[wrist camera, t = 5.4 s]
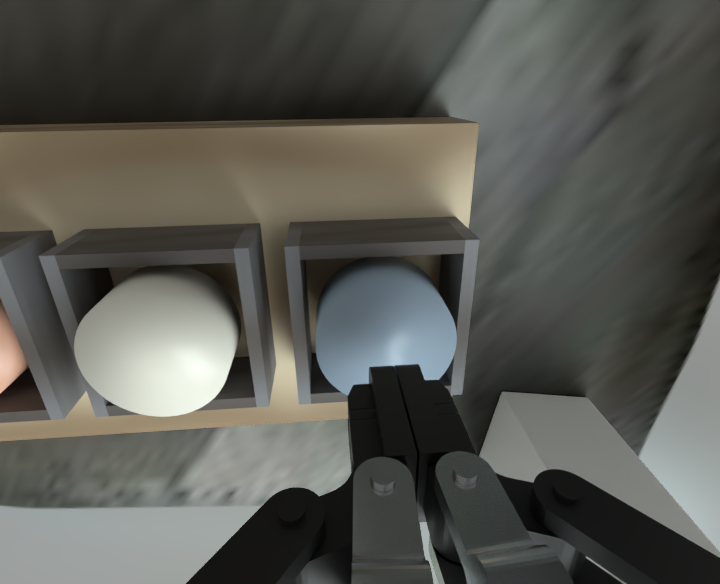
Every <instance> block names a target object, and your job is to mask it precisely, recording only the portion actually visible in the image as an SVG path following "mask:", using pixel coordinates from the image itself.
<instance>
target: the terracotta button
mask: <svg viewBox="0 0 720 584" xmlns="http://www.w3.org/2000/svg"><path fill="white" fill-rule="evenodd" d="M28 367H29V366H28V363H27V361H26V358H25V356H24V354H23V351H22V349H21V346H20V344H19V342H18V339H17V337H16V334H15V332H14V330H13V327H12V325H11V322H10V320H9V318H8V315H7V313H6V310H5V308H4V306H3V303H2V301H1V298H0V394H1V393H2V392H3V391H4V390H5V389H6V388H7V387H8V386H9V385H10V384H11V383H12V382H13V381H14V380H15V379H16V378H17V377H18V376H20V375H21V374H22V373H23V372H24V371H25V370H26V369H27V368H28Z"/></svg>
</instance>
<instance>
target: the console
mask: <svg viewBox="0 0 720 584" xmlns="http://www.w3.org/2000/svg"><path fill="white" fill-rule="evenodd" d="M478 129H479V123H477V122H472V121H468V120H463V119H458V118H454V117H413V118H358V119H303V120H249V121H194V122H140V123H85V124H30V125H0V298H1V301H2V303H3V306H4V308H5V310H6V313H7V315H8V318H9V320H10V322H11V325H12V327H13V330H14V332H15V334H16V337H17V339H18V342H19V344H20V346H21V349H22V351H23V354H24V356H25V358H26V361H27V363H28V366H29V367H28V368H27V369H26V370H25V371H24V372H23V373H22V374H21V375H20V376H18V377H17V378H16V379H15V380H14V381H13V382H12V383H11V384H10V385H9V386H8V387H7V388H6V389H5V390H4V391H3V392H2V393H1V394H0V441H10V440H26V439H41V438H57V437H73V436H88V435H104V434H119V433H135V432H150V431H166V430H181V429H197V428H212V427H228V426H243V425H259V424H274V423H290V422H305V421H321V420H336V419H348V398H347V395H345V394H344V393H342V392H341V391H339V390H338V389H336V388H335V387H334V386H333V385H332V384H331V383H330V382H329V381H328V380H327V379H326V377H325V376H324V374H323V373H322V371H321V369H320V366H319V364H318V360H317V355H316V320H317V305H318V300H319V297H320V294H321V292H322V290H323V288H324V286H325V285H326V283H327V282H328V281H329V279H330V278H331V277H332V276H333V275H334V274H335V273H336V272H337V271H338V270H340V269H341V268H343V267H344V266H346V265H347V264H349V263H351V262H353V261H356V260H358V259H361V258H365V257H387V256H394V257H398V258H402V259H405V260H407V261H409V262H412V263H413V264H415V265H417V266H418V267H419V268H421V269H422V270H423V271H424V272H425V273H426V274H427V275H428V276H429V277H430V279H431V280H432V282H433V283H434V285H435V287H436V289H437V290H438V292H439V294H440V296H441V297H442V299H443V301H444V303H445V305H446V306H447V308H448V310H449V312H450V313H451V316H452V318H453V320H454V323H455V326H456V333H457V344H456V350H455V353H454V356H453V359H452V361H451V363H450V365H449V367H448V368H447V370H446V372H445V373H444V374H443V375H442V376H441V378H440V379H439V380H438V381H439V382H440V383H441V384H442V385H444V386H445V387H446V388H447V389H448V390H449V392H450V395H451V397H452V395H462V391H463V382H464V373H465V365H466V356H467V347H468V338H469V329H470V320H471V311H472V302H473V293H474V285H475V276H476V267H477V258H478V249H479V240H480V239H479V238H478V237H476V236H475V235H474V234H473V233H472V232H471V231H470V230H469V220H470V210H471V200H472V190H473V179H474V169H475V159H476V149H477V139H478ZM161 265H182V266H186V267H190V268H193V269H195V270H198V271H200V272H202V273H204V274H206V275H208V276H209V277H211V278H213V279H214V280H215V281H217V282H218V283H219V284H220V285H221V286H222V287H223V288H224V289H225V290H226V291H227V292H228V293H229V295H230V296H231V297H232V299H233V300H234V302H235V304H236V306H237V309H238V311H239V314H240V319H241V335H240V340H239V343H238V346H237V349H236V352H235V355H234V358H233V361H232V364H231V367H230V370H229V373H228V376H227V379H226V381H225V384H224V386H223V387H222V389H221V391H220V392H219V393H218V394H217V396H216V397H215V398H214V399H213V400H211V401H210V402H209V403H208V404H206V405H205V406H203V407H201V408H199V409H197V410H195V411H193V412H190V413H187V414H182V415H178V416H169V417H157V416H148V415H142V414H138V413H134V412H131V411H128V410H126V409H123V408H121V407H119V406H117V405H115V404H113V403H111V402H110V401H108V400H107V399H105V398H104V397H102V396H101V395H100V394H99V393H97V392H96V391H95V390H94V389H93V388H92V387H91V386H90V384H89V383H88V382H87V381H86V379H85V378H84V376H83V375H82V373H81V371H80V369H79V367H78V364H77V361H76V358H75V352H74V339H75V335H76V331H77V329H78V326H79V324H80V322H81V321H82V319H83V318H84V316H85V315H86V314H87V313H88V312H89V311H90V310H91V309H92V308H93V307H94V306H95V305H96V304H97V303H98V302H100V301H101V300H102V299H103V298H104V297H105V296H106V295H107V294H108V293H109V292H110V291H111V290H112V289H113V288H114V287H115V286H116V285H117V284H118V283H119V282H121V281H122V280H123V279H124V278H125V277H126V276H128V275H129V274H130V273H132V272H134V271H136V270H138V269H141V268H143V267H147V266H161Z"/></svg>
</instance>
